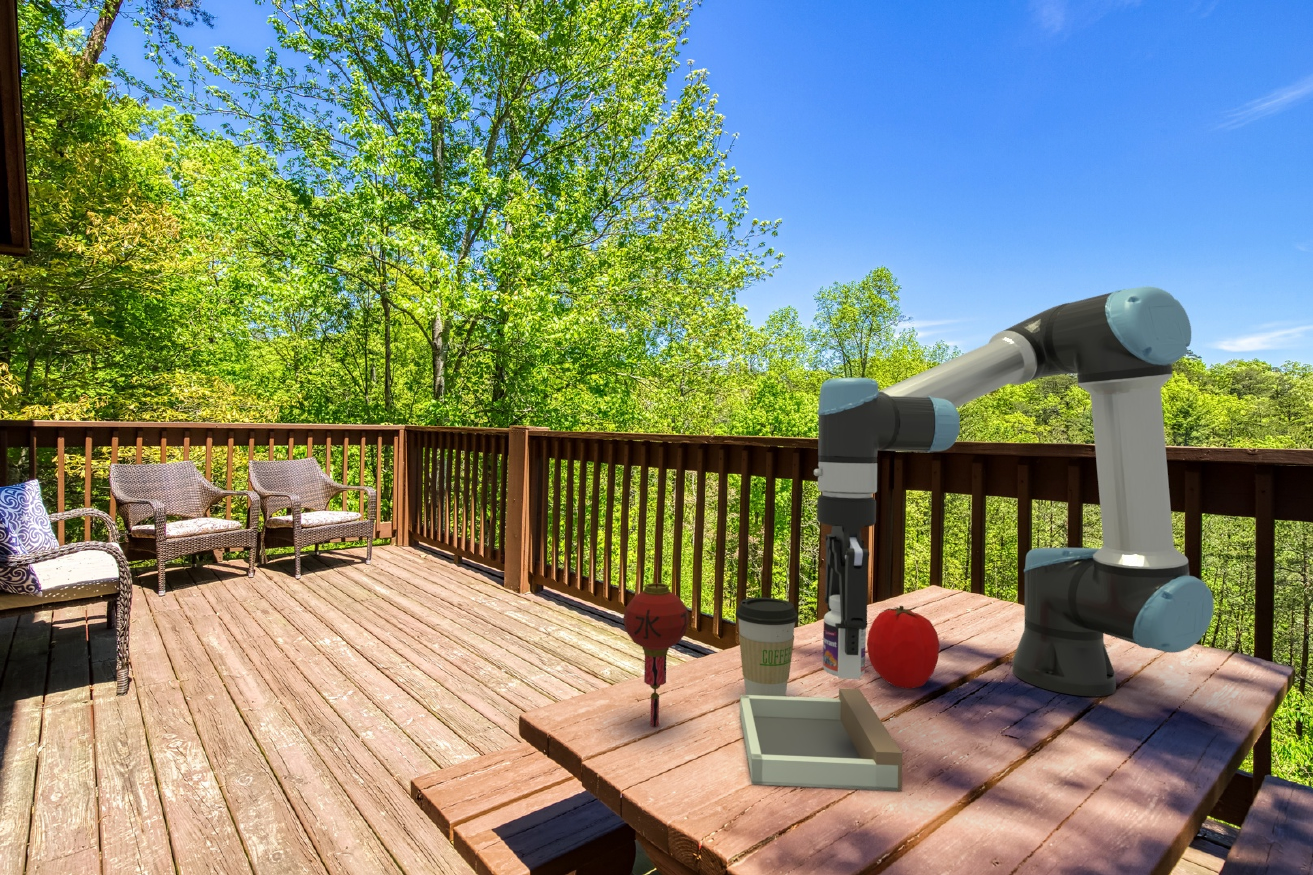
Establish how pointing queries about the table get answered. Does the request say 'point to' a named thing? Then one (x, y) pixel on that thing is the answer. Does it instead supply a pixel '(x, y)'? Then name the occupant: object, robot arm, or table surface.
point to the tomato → (903, 647)
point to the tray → (819, 742)
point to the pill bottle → (836, 638)
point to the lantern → (655, 630)
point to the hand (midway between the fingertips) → (843, 668)
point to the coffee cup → (766, 644)
